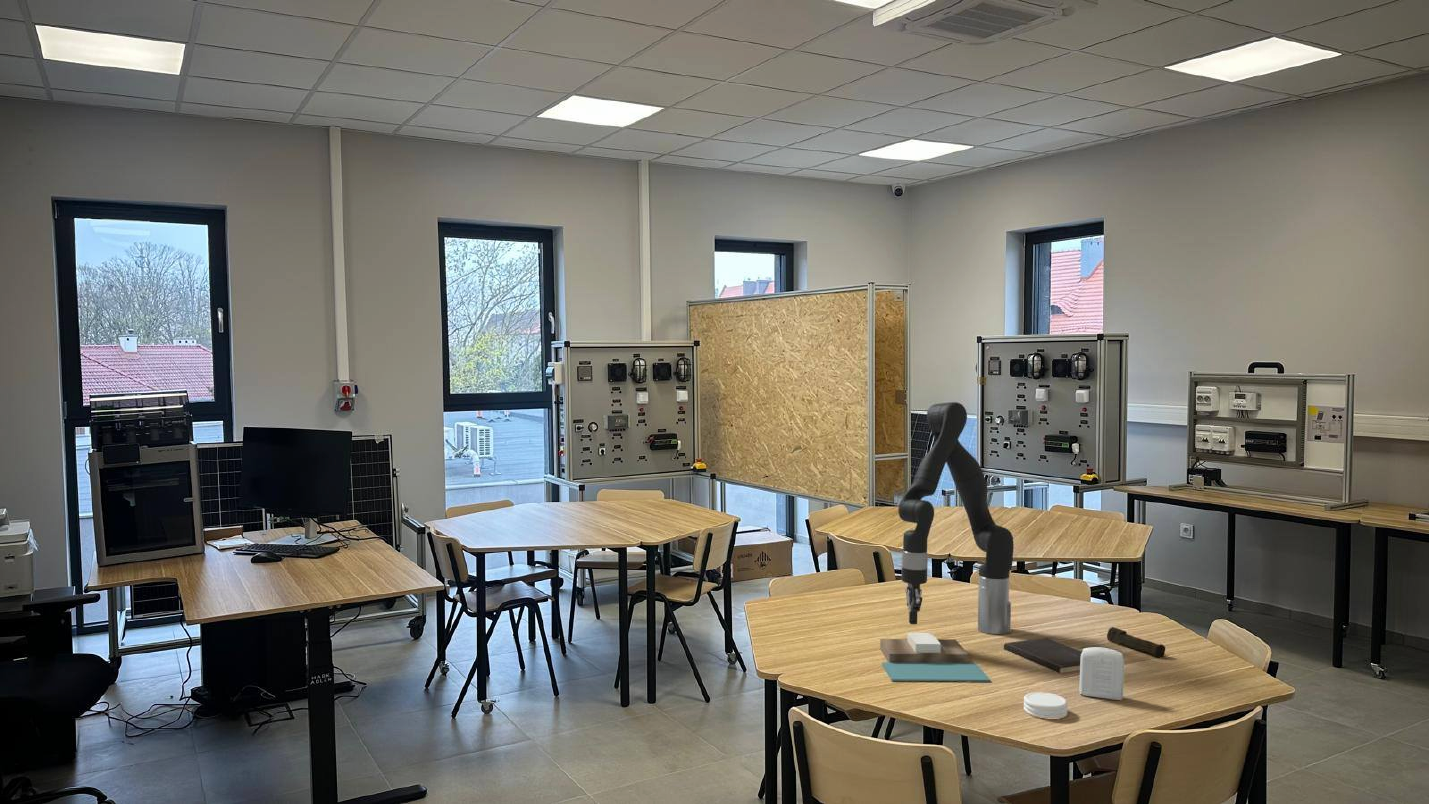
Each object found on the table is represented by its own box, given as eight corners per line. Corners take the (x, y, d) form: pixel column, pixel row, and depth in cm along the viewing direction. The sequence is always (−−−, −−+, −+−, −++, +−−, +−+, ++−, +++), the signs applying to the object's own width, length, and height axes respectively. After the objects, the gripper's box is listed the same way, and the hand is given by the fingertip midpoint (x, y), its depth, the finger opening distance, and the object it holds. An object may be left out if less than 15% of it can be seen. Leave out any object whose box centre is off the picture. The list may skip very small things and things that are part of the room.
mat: (975, 665, 260) (975, 662, 260) (990, 682, 246) (990, 679, 246) (882, 664, 260) (882, 662, 260) (891, 681, 246) (891, 679, 246)
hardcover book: (1046, 645, 280) (1046, 637, 280) (1104, 668, 259) (1105, 660, 259) (1003, 651, 274) (1003, 643, 274) (1059, 675, 253) (1059, 667, 253)
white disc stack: (1066, 723, 218) (1067, 708, 218) (1022, 717, 222) (1022, 702, 222) (1067, 708, 227) (1068, 694, 227) (1024, 703, 231) (1025, 689, 231)
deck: (955, 649, 274) (955, 639, 274) (968, 664, 260) (968, 654, 260) (880, 649, 274) (880, 638, 273) (889, 664, 260) (889, 653, 260)
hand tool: (1166, 658, 268) (1166, 641, 268) (1156, 659, 266) (1156, 643, 266) (1114, 640, 285) (1114, 625, 285) (1104, 641, 284) (1104, 626, 284)
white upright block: (1122, 696, 236) (1124, 648, 235) (1123, 702, 232) (1124, 652, 231) (1079, 690, 240) (1080, 643, 239) (1079, 696, 236) (1080, 648, 235)
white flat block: (931, 641, 272) (931, 632, 271) (940, 653, 261) (940, 644, 260) (907, 641, 272) (907, 632, 271) (915, 652, 261) (915, 644, 260)
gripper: (932, 571, 271) (930, 630, 272) (922, 561, 284) (920, 618, 285) (906, 570, 271) (904, 629, 272) (897, 561, 285) (896, 617, 285)
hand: (912, 623), depth 279 cm, fingers closed
